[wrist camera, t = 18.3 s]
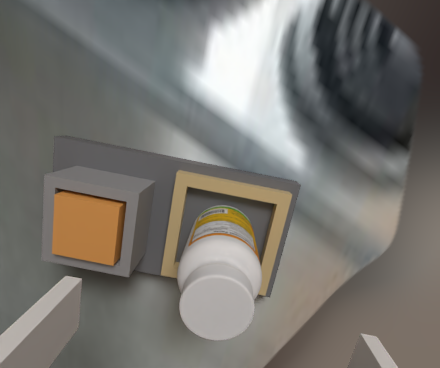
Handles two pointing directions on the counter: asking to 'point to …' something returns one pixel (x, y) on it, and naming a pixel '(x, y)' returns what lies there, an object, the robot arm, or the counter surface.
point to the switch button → (88, 227)
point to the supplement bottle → (219, 274)
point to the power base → (165, 204)
